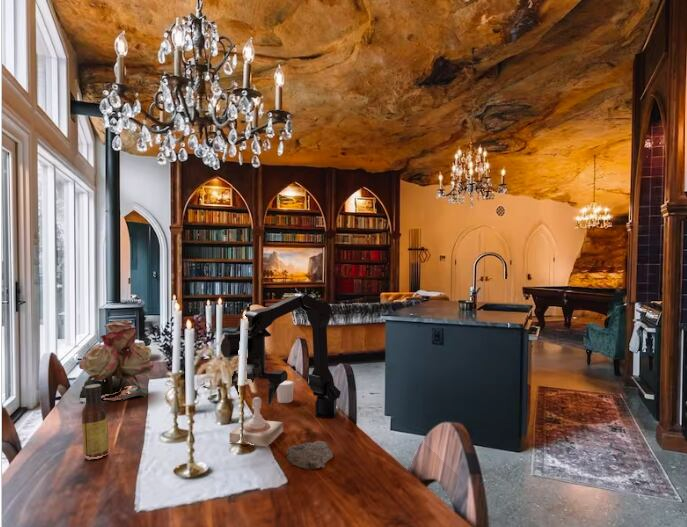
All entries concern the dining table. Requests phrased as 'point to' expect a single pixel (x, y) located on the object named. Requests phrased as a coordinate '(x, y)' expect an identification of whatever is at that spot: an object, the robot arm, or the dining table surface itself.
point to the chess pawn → (256, 415)
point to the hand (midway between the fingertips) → (256, 403)
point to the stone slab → (309, 455)
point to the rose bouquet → (117, 361)
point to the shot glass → (285, 392)
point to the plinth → (258, 433)
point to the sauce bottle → (94, 423)
